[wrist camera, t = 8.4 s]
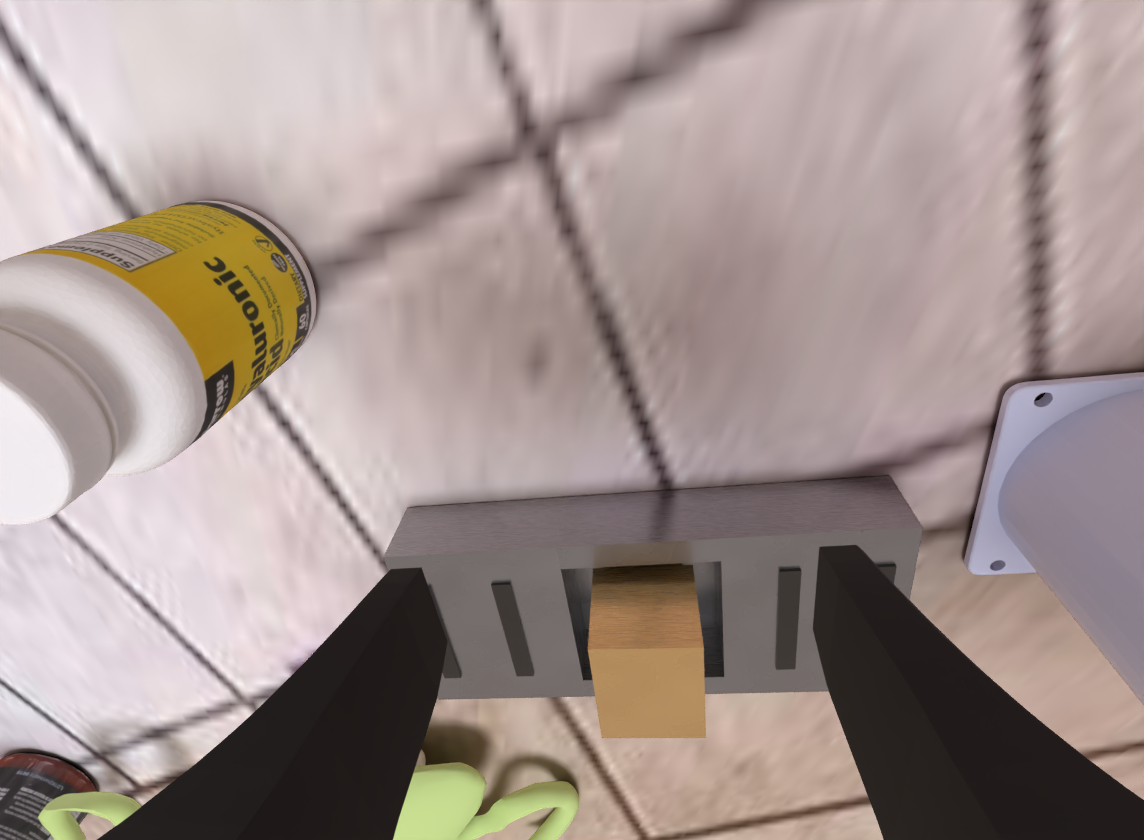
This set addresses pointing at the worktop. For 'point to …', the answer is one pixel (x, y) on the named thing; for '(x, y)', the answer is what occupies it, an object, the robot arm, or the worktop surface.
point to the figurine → (427, 821)
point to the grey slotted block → (645, 537)
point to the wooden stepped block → (647, 652)
